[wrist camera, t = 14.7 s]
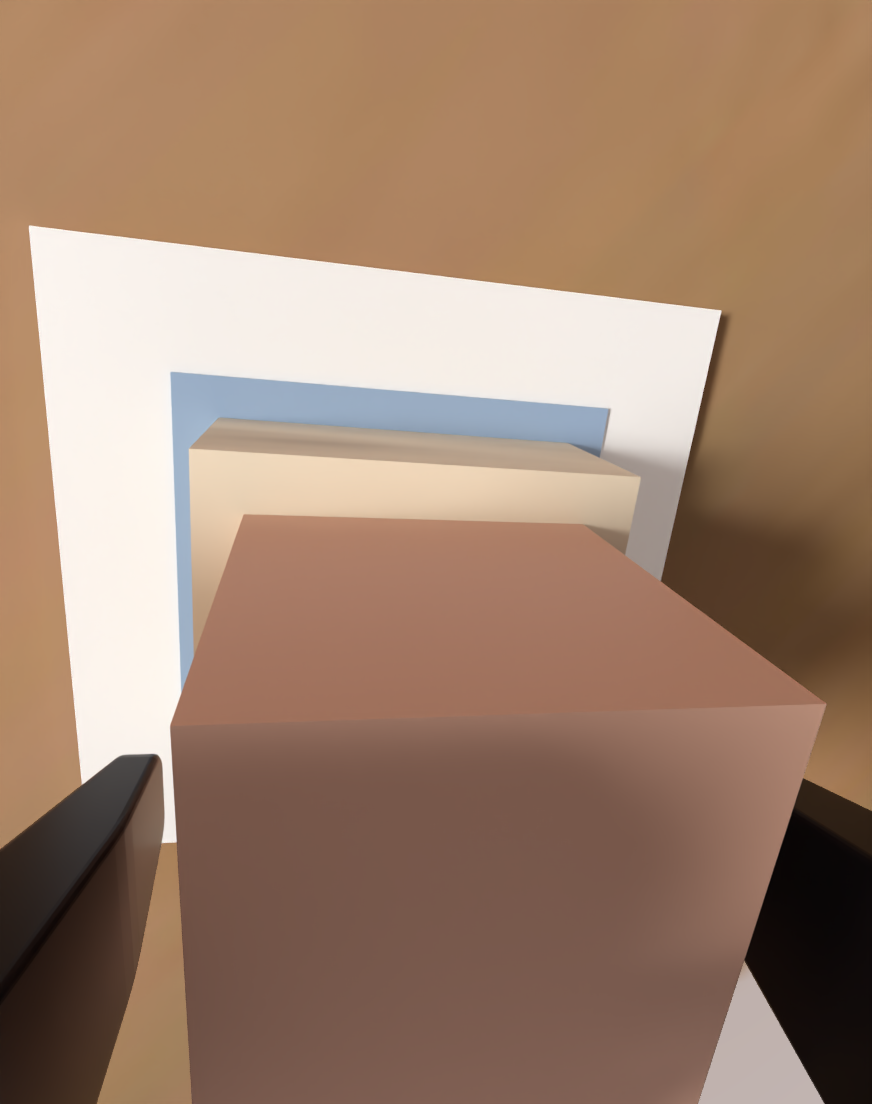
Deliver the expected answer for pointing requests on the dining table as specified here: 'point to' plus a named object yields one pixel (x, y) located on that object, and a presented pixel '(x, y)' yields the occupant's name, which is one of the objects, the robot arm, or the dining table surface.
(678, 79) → the dining table surface
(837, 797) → the robot arm
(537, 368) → the board
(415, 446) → the maple block
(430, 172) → the dining table surface
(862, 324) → the dining table surface
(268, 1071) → the terracotta cube
